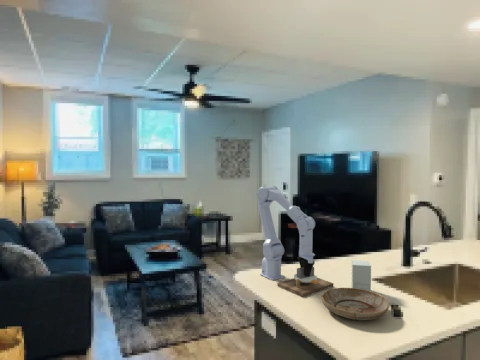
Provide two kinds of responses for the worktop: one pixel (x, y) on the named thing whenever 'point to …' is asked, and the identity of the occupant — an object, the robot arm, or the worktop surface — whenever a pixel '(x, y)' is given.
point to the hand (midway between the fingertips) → (305, 274)
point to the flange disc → (310, 279)
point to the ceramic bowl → (355, 303)
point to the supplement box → (361, 275)
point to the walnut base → (304, 286)
